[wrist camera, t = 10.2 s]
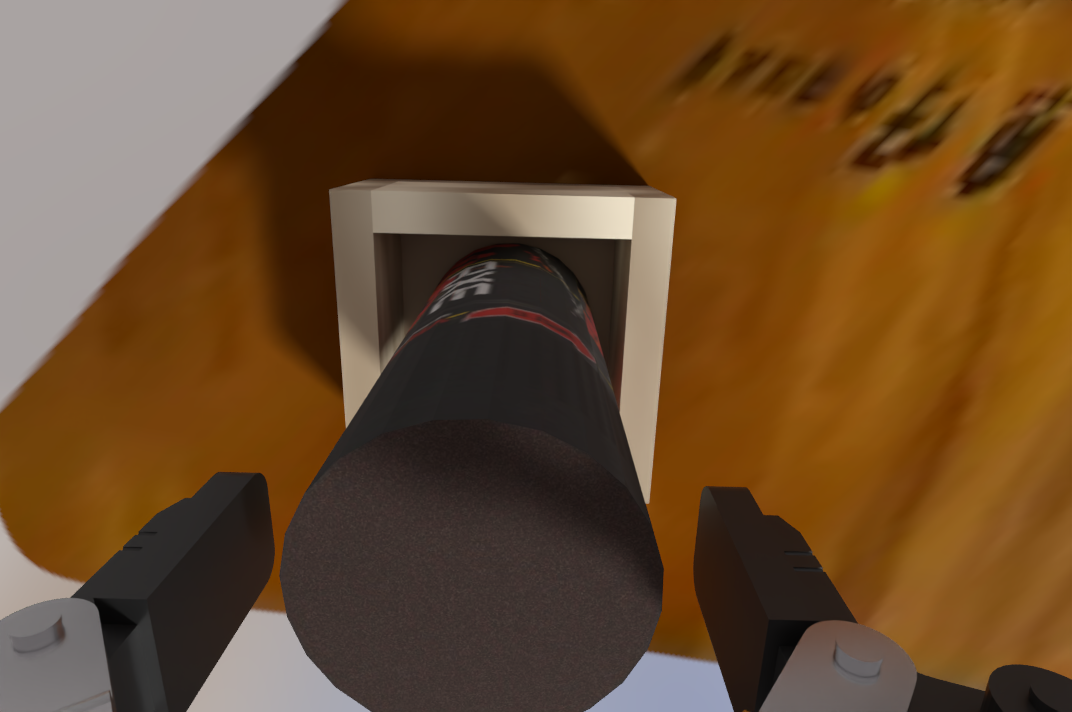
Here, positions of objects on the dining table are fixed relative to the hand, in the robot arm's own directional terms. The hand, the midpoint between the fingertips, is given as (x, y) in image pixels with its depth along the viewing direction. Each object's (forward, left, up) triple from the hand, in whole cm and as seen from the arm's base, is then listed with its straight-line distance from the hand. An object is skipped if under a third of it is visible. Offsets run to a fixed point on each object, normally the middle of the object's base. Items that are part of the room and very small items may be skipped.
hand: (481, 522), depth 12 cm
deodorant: (0, 0, -13) cm, 13 cm away
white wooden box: (0, 0, -14) cm, 14 cm away
